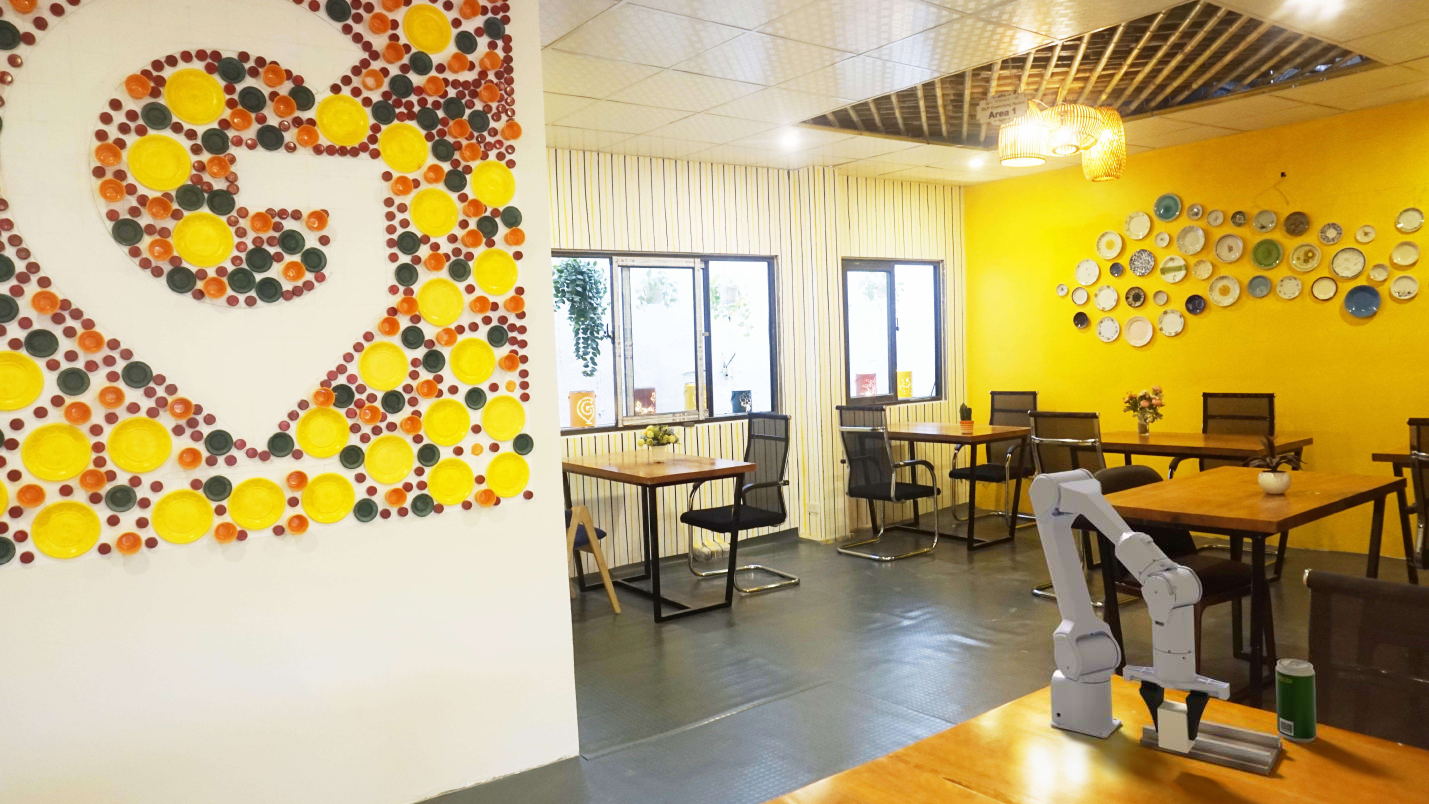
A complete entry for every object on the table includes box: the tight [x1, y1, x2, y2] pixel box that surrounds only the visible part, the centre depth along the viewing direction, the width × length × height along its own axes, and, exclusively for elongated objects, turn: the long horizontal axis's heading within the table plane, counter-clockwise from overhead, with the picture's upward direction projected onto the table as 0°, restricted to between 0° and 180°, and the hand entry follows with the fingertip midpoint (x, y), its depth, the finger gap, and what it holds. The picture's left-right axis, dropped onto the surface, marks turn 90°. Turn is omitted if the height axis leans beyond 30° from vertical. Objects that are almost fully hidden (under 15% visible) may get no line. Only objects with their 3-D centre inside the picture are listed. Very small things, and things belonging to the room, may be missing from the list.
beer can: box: [1275, 658, 1318, 744], centre depth 145 cm, size 5×5×12 cm
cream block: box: [1157, 699, 1195, 753], centre depth 137 cm, size 4×4×6 cm
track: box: [1139, 719, 1283, 776], centre depth 143 cm, size 18×11×2 cm, turn 48°
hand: (1176, 734), depth 137 cm, fingers closed on cream block, 4 cm apart
